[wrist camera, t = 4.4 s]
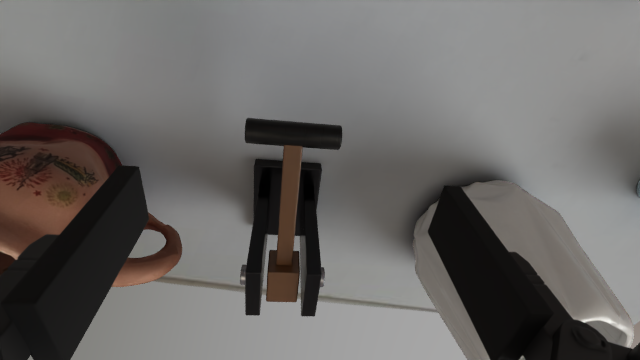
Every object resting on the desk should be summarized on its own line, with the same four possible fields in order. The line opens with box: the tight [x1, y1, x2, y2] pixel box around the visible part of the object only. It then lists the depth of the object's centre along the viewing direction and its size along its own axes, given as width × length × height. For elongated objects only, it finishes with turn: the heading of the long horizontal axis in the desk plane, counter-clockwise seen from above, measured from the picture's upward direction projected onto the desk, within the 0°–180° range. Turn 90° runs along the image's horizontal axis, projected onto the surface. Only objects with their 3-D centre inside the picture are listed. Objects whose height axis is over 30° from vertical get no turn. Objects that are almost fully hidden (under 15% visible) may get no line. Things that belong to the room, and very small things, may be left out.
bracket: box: [240, 159, 325, 316], centre depth 28 cm, size 8×6×12 cm
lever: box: [245, 118, 342, 302], centre depth 23 cm, size 13×6×2 cm, turn 173°
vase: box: [413, 180, 634, 360], centre depth 30 cm, size 14×14×15 cm
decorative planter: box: [0, 122, 182, 287], centre depth 25 cm, size 20×12×14 cm, turn 83°
